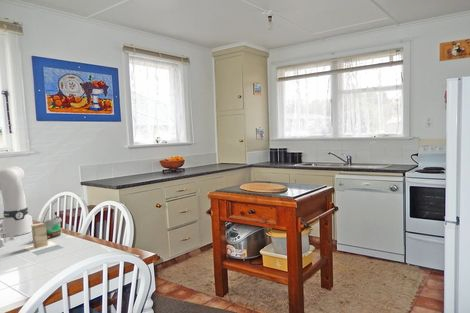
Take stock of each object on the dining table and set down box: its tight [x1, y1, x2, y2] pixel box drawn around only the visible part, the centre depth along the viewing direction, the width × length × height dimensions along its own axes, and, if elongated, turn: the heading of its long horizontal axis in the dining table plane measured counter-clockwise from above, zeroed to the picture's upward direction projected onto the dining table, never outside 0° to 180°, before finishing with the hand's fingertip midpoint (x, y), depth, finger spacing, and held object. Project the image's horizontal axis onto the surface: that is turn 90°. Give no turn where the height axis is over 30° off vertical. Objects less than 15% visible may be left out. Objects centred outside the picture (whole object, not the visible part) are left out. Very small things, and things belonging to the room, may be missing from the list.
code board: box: [24, 240, 65, 256], centre depth 169 cm, size 19×12×1 cm, turn 48°
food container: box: [40, 215, 63, 240], centre depth 187 cm, size 12×6×10 cm, turn 168°
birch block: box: [31, 222, 48, 248], centre depth 171 cm, size 5×5×11 cm
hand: (10, 235), depth 162 cm, fingers open, 8 cm apart
